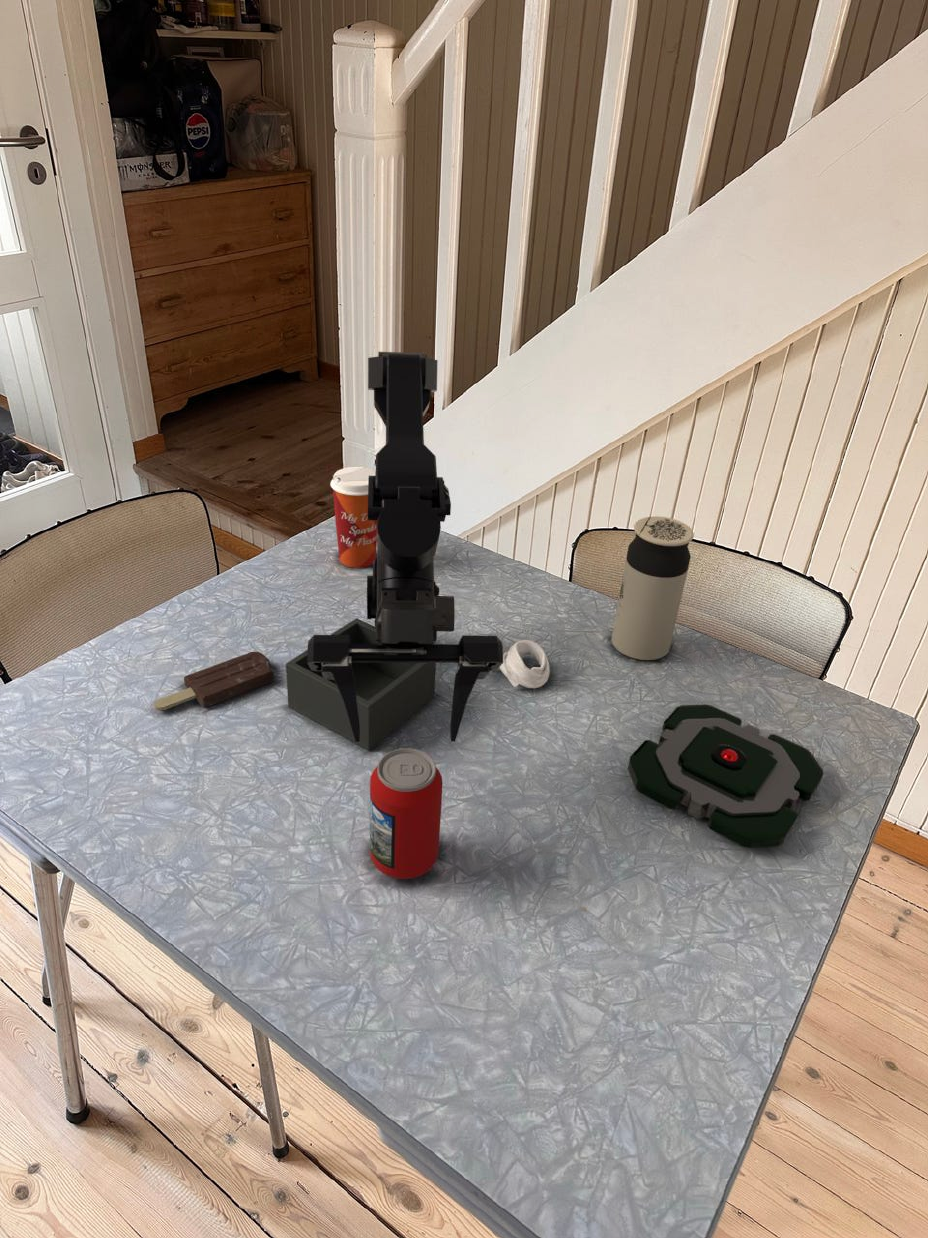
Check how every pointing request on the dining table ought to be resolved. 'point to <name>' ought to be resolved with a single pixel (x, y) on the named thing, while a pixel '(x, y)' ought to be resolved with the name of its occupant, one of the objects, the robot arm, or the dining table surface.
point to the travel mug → (652, 587)
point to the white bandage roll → (517, 669)
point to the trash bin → (362, 691)
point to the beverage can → (405, 813)
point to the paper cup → (354, 517)
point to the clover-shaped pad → (726, 774)
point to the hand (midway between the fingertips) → (405, 742)
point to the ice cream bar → (222, 681)
